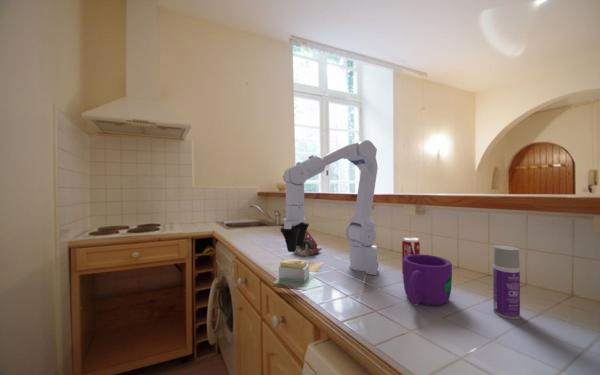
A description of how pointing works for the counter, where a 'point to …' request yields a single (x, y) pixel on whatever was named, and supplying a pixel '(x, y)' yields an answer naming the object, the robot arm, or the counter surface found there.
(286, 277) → the base
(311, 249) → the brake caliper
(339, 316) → the counter surface
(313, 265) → the stand
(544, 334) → the counter surface
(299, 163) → the robot arm
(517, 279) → the container
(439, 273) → the mug
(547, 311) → the counter surface
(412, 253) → the soda can
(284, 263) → the cover
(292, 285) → the stand
